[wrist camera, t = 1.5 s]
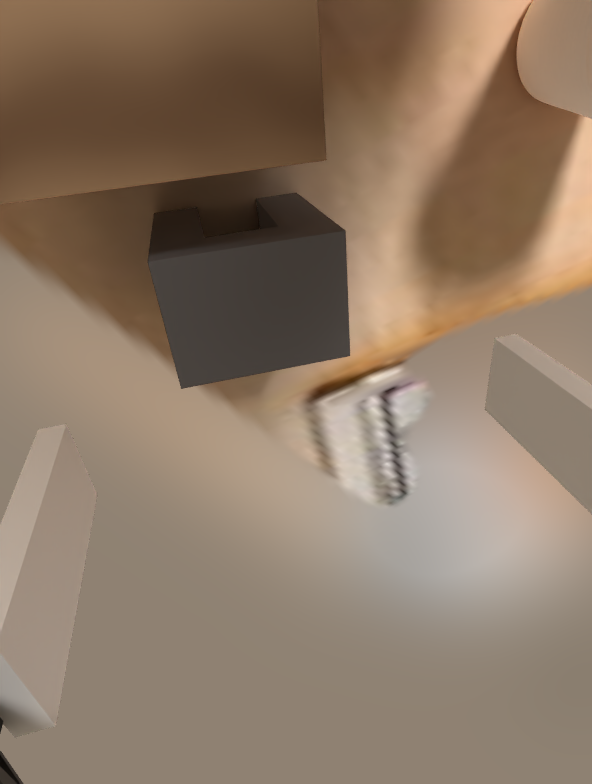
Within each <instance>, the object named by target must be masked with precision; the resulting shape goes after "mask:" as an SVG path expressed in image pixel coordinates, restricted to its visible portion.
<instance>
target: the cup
mask: <svg viewBox="0 0 592 784" xmlns="http://www.w3.org/2000/svg"><path fill="white" fill-rule="evenodd" d="M517 67H518V73H519V76H520V79H521V82H522V84H523V85H524V87H525V89H526V90H527V92H528V93H529V94H530V95H531V96H533V97H534V98H535V99H537V100H539V101H541V102H543V103H546V104H549V105H552V106H555V107H558V108H561V109H565V110H567V111H571V112H573V113H577V114H579V115H582V116H585V117H588V118H591V119H592V0H533V1H532V3H531V5H530V6H529V8H528V10H527V13H526V15H525V17H524V19H523V22H522V25H521V29H520V32H519V36H518V43H517Z"/></svg>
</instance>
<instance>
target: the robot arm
mask: <svg viewBox="0 0 592 784" xmlns="http://www.w3.org/2000/svg"><path fill="white" fill-rule="evenodd" d="M485 410H486V411H487V412H488V413H489V414H490V415H491V416H492V417H493V418H494V419H495V420H496V421H497V422H498V423H499V424H500V425H501V426H502V427H503V428H504V429H505V430H506V431H507V432H508V433H509V434H510V435H511V436H512V437H513V438H514V439H515V440H516V441H517V442H518V443H520V444H521V446H523V447H524V448H525V449H526V450H527V451H528V452H529V453H530V454H531V455H532V456H533V457H534V458H535V459H536V460H537V461H538V462H539V463H540V464H541V465H542V466H543V467H544V468H545V469H546V470H547V471H548V472H549V473H550V474H551V475H552V476H553V477H554V478H555V479H556V480H557V481H558V482H559V483H560V484H561V485H562V486H563V487H564V488H565V489H566V490H567V491H568V492H570V493H571V494H572V495H573V496H574V497H575V498H576V499H577V500H578V501H579V502H580V503H581V504H582V505H583V506H584V507H585V508H586V509H587V510H588V511H589V512H590V513H591V514H592V384H590V383H589V382H587V381H586V380H584V379H583V378H581V377H580V376H578V375H577V374H575V373H574V372H572V371H571V370H569V369H568V368H566V367H565V366H563V365H562V364H560V363H559V362H557V361H556V360H554V359H553V358H551V357H550V356H549V355H547V354H546V353H544V352H543V351H541V350H540V349H538V348H537V347H535V346H534V345H532V344H531V343H529V342H528V341H526V340H525V339H523V338H522V337H520V336H519V335H517V334H513V335H508V336H503V337H498V338H494V345H493V353H492V360H491V367H490V374H489V382H488V389H487V396H486V403H485ZM96 501H97V493H96V490H95V488H94V486H93V483H92V481H91V479H90V476H89V474H88V472H87V469H86V467H85V465H84V463H83V460H82V458H81V456H80V453H79V451H78V449H77V446H76V444H75V442H74V440H73V437H72V435H71V433H70V431H69V428H68V426H67V424H62V425H57V426H52V427H47V428H42V429H38V431H37V433H36V436H35V438H34V441H33V443H32V446H31V448H30V451H29V453H28V456H27V459H26V461H25V464H24V466H23V469H22V471H21V474H20V476H19V479H18V481H17V484H16V486H15V489H14V491H13V494H12V496H11V499H10V501H9V504H8V507H7V509H6V511H5V514H4V516H3V519H2V521H1V525H0V732H1V728H2V725H3V724H4V725H5V726H6V728H7V729H8V730H9V731H10V732H11V733H12V735H13V736H14V737H18V736H22V735H26V734H29V733H32V732H36V731H40V730H43V729H47V728H50V727H54V726H56V723H57V718H58V712H59V706H60V701H61V695H62V690H63V684H64V679H65V673H66V668H67V662H68V656H69V651H70V645H71V640H72V634H73V629H74V623H75V618H76V612H77V606H78V601H79V595H80V590H81V584H82V579H83V573H84V568H85V562H86V556H87V551H88V545H89V540H90V534H91V529H92V523H93V517H94V512H95V506H96ZM0 784H23V782H22V781H21V779H20V778H19V777H18V775H17V774H16V772H15V771H14V769H13V768H12V766H11V765H10V764H9V762H8V761H7V759H6V758H5V757H4V755H3V753H2V752H1V751H0Z"/></svg>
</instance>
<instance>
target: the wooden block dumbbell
mask: <svg viewBox="0 0 592 784" xmlns="http://www.w3.org/2000/svg"><path fill="white" fill-rule="evenodd" d="M324 160H326V144H325V126H324V108H323V89H322V71H321V53H320V34H319V16H318V0H0V205H1V204H8V203H16V202H23V201H30V200H38V199H45V198H53V197H60V196H67V195H75V194H82V193H89V192H97V191H104V190H111V189H119V188H126V187H133V186H141V185H148V184H155V183H163V182H170V181H177V180H185V179H192V178H199V177H207V176H214V175H221V174H229V173H236V172H243V171H251V170H258V169H265V168H273V167H280V166H287V165H295V164H302V163H309V162H317V161H324Z"/></svg>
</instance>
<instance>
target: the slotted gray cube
mask: <svg viewBox="0 0 592 784" xmlns="http://www.w3.org/2000/svg"><path fill="white" fill-rule="evenodd" d="M256 203H257V211H258V218H259V226H260V229H258V230H251V231H245V232H238V233H232V234H225V235H219V236H212V237H206V238H204V234H203V230H202V226H201V222H200V218H199V214H198V210H197V207H196V208H189V209H182V210H175V211H168V212H161V213H154V217H153V225H152V233H151V240H150V248H149V256H148V265H149V268H150V272H151V276H152V280H153V284H154V287H155V291H156V295H157V299H158V302H159V306H160V310H161V314H162V318H163V321H164V325H165V329H166V333H167V337H168V340H169V344H170V348H171V352H172V355H173V359H174V363H175V367H176V371H177V374H178V378H179V382H180V386H181V389H182V388H187V387H193V386H198V385H203V384H208V383H213V382H218V381H223V380H229V379H234V378H239V377H244V376H249V375H254V374H259V373H265V372H270V371H275V370H280V369H285V368H290V367H296V366H301V365H306V364H311V363H316V362H321V361H326V360H332V359H337V358H342V357H347V356H350V339H349V313H348V286H347V260H346V234H345V230H344V229H343V228H341V227H340V226H339V225H337V224H336V223H335V222H334V221H332V220H331V219H330V218H328V217H327V216H326V215H324V214H323V213H322V212H321V211H319V210H318V209H317V208H315V207H314V206H313V205H311V204H310V203H309V202H308V201H306V200H305V199H304V198H302V197H301V196H300V195H298V194H297V193H292V194H286V195H279V196H272V197H265V198H258V199H256Z"/></svg>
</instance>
